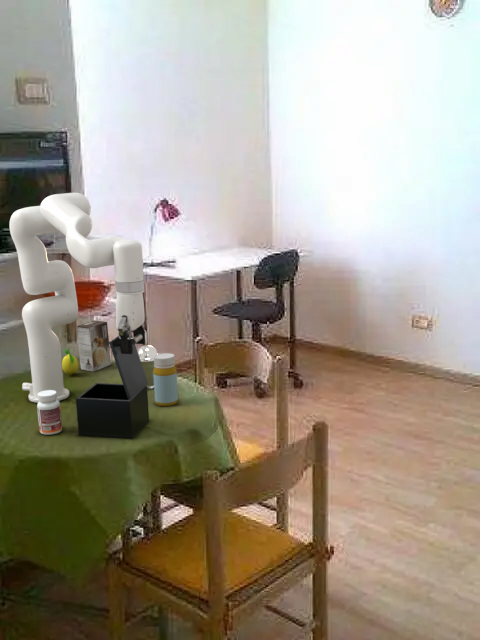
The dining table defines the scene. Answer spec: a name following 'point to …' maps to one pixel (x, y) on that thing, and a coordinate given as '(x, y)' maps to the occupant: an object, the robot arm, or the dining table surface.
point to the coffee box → (93, 345)
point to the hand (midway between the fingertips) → (133, 348)
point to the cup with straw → (147, 361)
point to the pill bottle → (49, 412)
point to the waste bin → (111, 411)
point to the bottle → (165, 379)
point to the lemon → (69, 363)
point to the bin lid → (129, 367)
